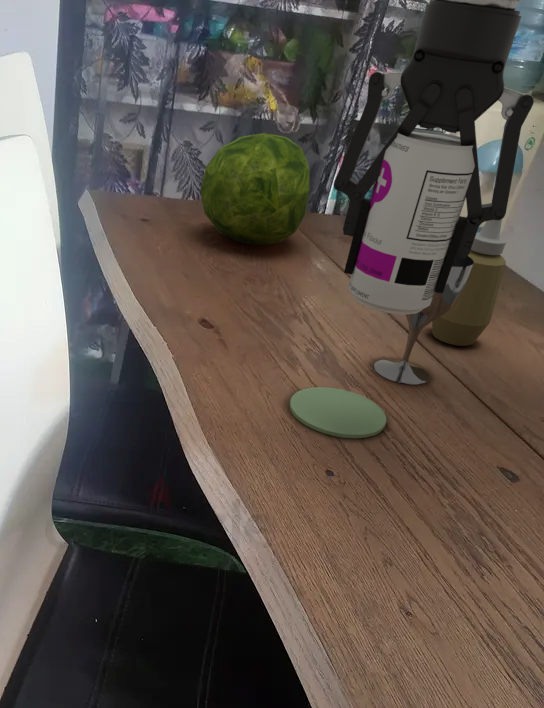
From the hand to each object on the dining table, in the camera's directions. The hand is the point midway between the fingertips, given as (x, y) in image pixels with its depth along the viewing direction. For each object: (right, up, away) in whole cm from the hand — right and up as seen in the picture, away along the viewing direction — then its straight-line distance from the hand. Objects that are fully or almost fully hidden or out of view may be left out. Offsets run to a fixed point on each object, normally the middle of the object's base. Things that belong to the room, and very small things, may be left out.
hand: (393, 278), depth 73 cm
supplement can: (0, -2, +1) cm, 2 cm away
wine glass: (+8, -5, +23) cm, 25 cm away
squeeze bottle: (+19, +2, +34) cm, 39 cm away
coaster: (-3, -12, +11) cm, 17 cm away
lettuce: (-7, +27, +64) cm, 70 cm away
